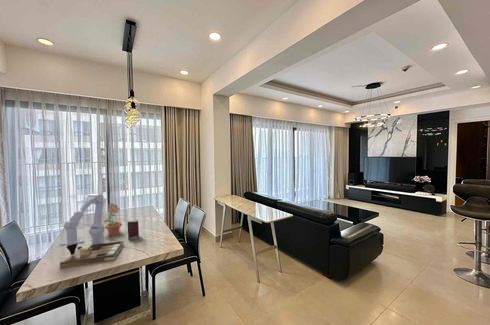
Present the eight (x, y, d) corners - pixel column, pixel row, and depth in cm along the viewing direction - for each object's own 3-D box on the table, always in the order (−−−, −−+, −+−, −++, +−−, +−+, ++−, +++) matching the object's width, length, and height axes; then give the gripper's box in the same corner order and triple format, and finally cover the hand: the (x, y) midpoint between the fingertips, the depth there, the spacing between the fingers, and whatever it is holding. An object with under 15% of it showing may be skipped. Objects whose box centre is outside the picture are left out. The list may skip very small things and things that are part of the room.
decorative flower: (112, 237, 180) (111, 205, 179) (100, 236, 183) (98, 205, 181) (125, 231, 195) (124, 201, 193) (114, 230, 198) (112, 201, 196)
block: (83, 252, 150) (83, 246, 149) (91, 251, 151) (90, 245, 151) (80, 255, 145) (79, 249, 144) (88, 254, 146) (87, 248, 146)
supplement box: (138, 236, 183) (138, 219, 182) (139, 238, 179) (138, 221, 178) (128, 238, 179) (127, 221, 178) (128, 240, 175) (127, 222, 174)
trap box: (78, 250, 156) (77, 246, 156) (123, 244, 166) (123, 240, 166) (60, 267, 134) (59, 262, 133) (114, 259, 143) (113, 254, 143)
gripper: (56, 239, 139) (57, 258, 139) (80, 237, 143) (81, 255, 144) (62, 235, 145) (63, 253, 146) (85, 233, 150) (86, 250, 150)
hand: (72, 254), depth 145 cm, fingers closed
